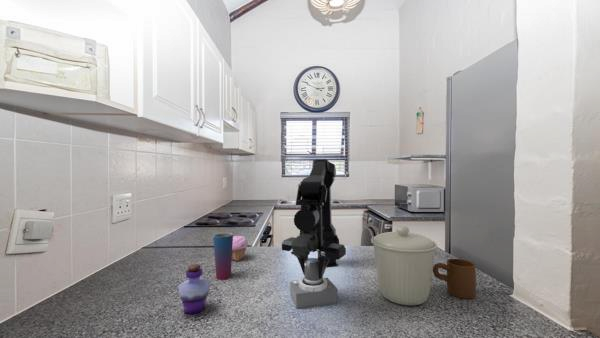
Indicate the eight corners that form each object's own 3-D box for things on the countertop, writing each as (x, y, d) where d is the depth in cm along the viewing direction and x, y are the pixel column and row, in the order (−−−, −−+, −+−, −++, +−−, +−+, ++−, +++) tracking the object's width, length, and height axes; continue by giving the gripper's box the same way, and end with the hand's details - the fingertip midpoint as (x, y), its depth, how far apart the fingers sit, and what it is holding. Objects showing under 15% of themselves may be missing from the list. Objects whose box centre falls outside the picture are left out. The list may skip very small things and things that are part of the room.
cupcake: (222, 260, 112) (221, 236, 112) (237, 254, 120) (237, 232, 120) (236, 264, 107) (236, 239, 107) (251, 258, 115) (251, 235, 115)
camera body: (327, 290, 83) (327, 273, 83) (337, 302, 75) (337, 284, 75) (290, 295, 80) (290, 277, 80) (296, 308, 72) (296, 289, 73)
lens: (315, 279, 81) (315, 256, 81) (324, 285, 77) (324, 261, 77) (301, 283, 79) (300, 259, 79) (309, 289, 75) (309, 264, 75)
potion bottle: (200, 298, 79) (200, 258, 79) (217, 308, 73) (217, 264, 73) (171, 310, 72) (170, 266, 72) (187, 322, 67) (186, 274, 67)
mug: (438, 299, 77) (438, 266, 77) (428, 287, 85) (427, 257, 85) (481, 300, 76) (481, 267, 76) (467, 288, 84) (467, 258, 84)
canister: (368, 306, 73) (367, 230, 73) (374, 280, 90) (373, 218, 90) (442, 319, 67) (441, 235, 67) (433, 288, 84) (432, 221, 84)
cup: (236, 273, 98) (235, 232, 98) (229, 281, 91) (229, 237, 91) (218, 272, 99) (217, 232, 99) (210, 280, 92) (209, 237, 92)
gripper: (270, 225, 76) (270, 280, 76) (329, 233, 66) (330, 295, 66) (291, 219, 86) (292, 267, 86) (346, 224, 76) (346, 279, 76)
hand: (312, 276), depth 78 cm, fingers closed on lens, 5 cm apart
